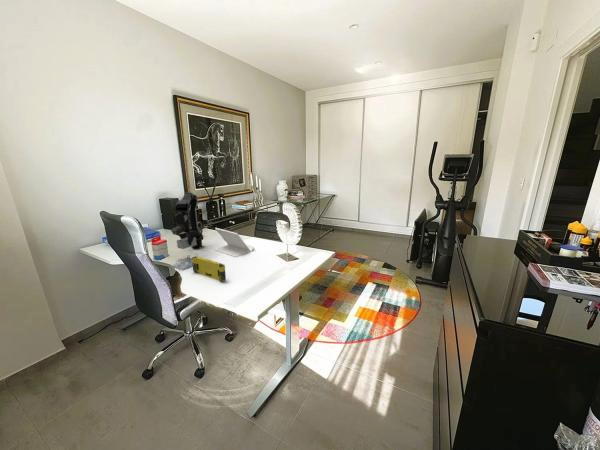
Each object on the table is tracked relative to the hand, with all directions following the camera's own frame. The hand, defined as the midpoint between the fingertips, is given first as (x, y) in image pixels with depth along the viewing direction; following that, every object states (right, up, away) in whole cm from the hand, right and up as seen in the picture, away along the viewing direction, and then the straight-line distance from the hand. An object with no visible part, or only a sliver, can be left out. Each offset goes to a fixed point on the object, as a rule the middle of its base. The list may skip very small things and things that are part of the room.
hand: (187, 244), depth 157 cm
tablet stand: (+24, -7, +24) cm, 35 cm away
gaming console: (+21, -17, -18) cm, 33 cm away
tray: (+1, -12, -1) cm, 12 cm away
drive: (0, -1, 0) cm, 1 cm away
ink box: (-22, -10, +10) cm, 26 cm away
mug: (-18, 0, +50) cm, 53 cm away
